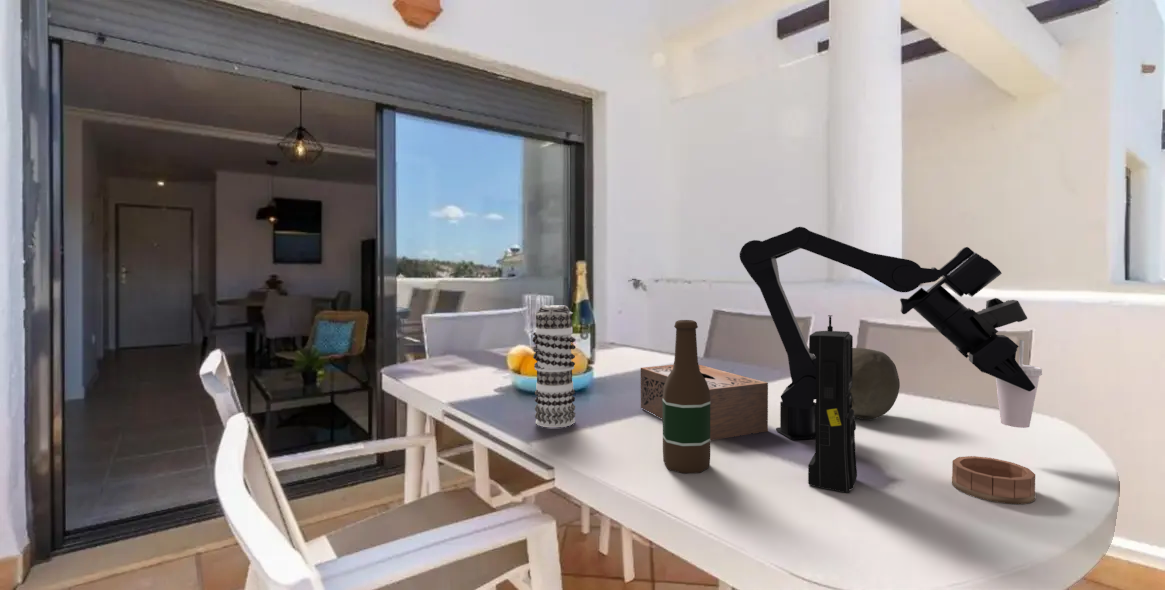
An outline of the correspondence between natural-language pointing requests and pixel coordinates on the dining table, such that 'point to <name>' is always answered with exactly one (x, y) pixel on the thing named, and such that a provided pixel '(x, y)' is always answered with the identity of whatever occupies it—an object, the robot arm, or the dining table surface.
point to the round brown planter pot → (993, 480)
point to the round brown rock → (873, 383)
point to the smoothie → (1018, 396)
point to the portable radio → (833, 411)
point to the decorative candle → (554, 367)
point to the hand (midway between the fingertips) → (1027, 385)
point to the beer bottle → (686, 407)
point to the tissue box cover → (716, 400)
